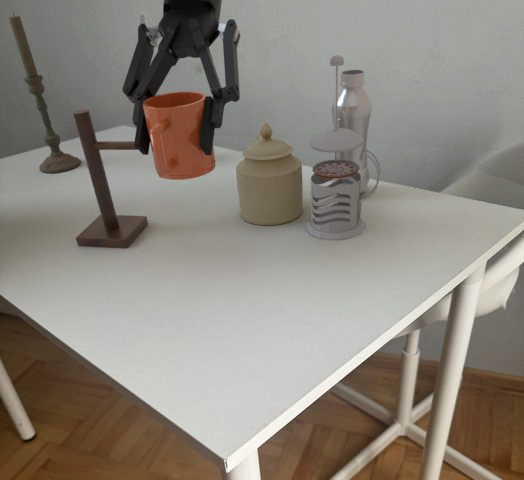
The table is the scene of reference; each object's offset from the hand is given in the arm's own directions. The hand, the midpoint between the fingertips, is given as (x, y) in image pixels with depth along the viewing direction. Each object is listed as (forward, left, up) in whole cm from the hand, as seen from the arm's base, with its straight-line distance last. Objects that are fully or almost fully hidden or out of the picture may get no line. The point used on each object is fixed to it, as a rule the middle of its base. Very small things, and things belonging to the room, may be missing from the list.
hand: (172, 150), depth 70 cm
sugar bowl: (+6, +22, -18) cm, 29 cm away
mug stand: (-16, +10, -18) cm, 25 cm away
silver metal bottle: (+20, +30, -18) cm, 40 cm away
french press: (+20, +16, -18) cm, 31 cm away
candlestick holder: (-47, +42, -18) cm, 65 cm away
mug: (0, +1, -4) cm, 4 cm away
